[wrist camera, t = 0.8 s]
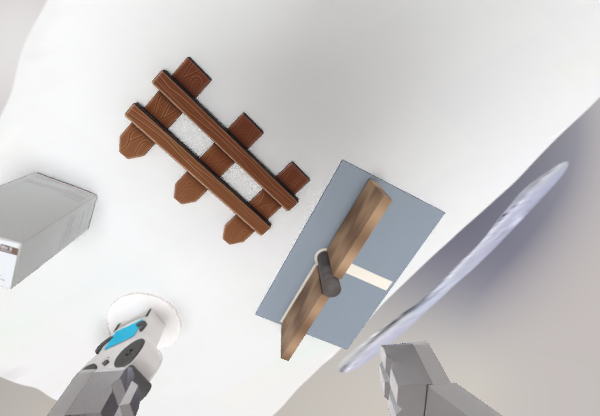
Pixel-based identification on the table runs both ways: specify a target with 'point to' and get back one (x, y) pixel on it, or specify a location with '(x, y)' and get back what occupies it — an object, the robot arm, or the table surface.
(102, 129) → the table surface
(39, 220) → the skincare box
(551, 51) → the table surface
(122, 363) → the white upright piece
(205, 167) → the decorative fence
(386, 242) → the card
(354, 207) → the swing panel
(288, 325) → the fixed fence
